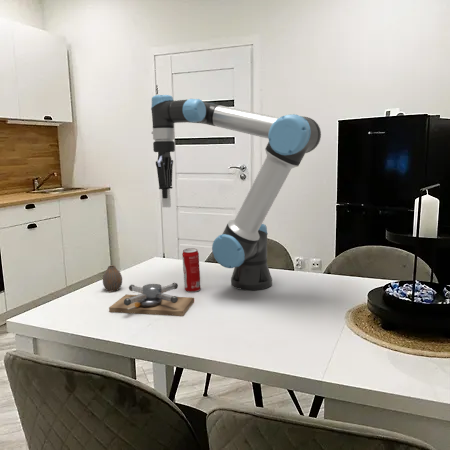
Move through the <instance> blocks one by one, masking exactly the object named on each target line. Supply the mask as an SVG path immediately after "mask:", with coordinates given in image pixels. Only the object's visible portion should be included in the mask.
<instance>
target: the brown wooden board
mask: <svg viewBox="0 0 450 450" xmlns="http://www.w3.org/2000/svg"><path fill="white" fill-rule="evenodd" d="M137 295H138V294H125V295H123V296H122V297H121V298H119V299H118V300H116V301H115V302H114V303H113V304H111V305H110V306H109V307H108V310H109V311H108V312H109V313H121V314H135V315H137V314H138V315H139V314H140V315H154V316H155V315H157V316H170V317H171V316H174V317H184V316H185V314H186V313H187V312H188V311H189V310H190V308H191V307H192V306H193V304H195V297H190V296H189V297H187V296H186V297H185V296H176V297H177V298H178V301H177V302H176V303H172V302H170V301H166V300H163V299H162V303H161V304H159V305H156V306H151V307H142V306H140V307H135V303H136V302H135V303H132V304H130V305H128V306H127V305H125V304H124V300H125V299H126V298H131V297H134V296H137Z"/></svg>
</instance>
